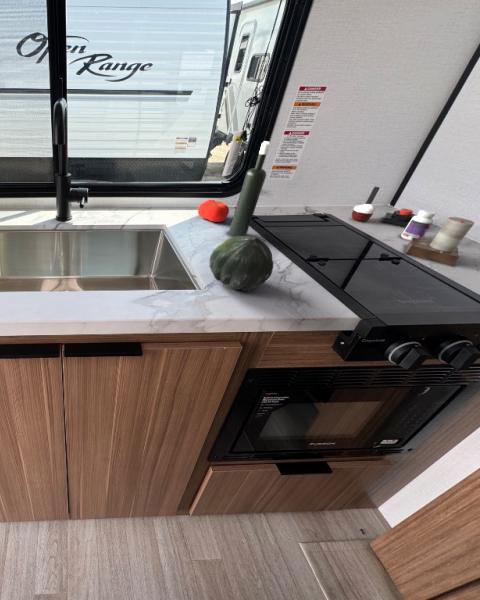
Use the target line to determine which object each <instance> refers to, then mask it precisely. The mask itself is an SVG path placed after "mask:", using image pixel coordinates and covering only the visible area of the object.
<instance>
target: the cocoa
mask: <svg viewBox="0 0 480 600" xmlns="http://www.w3.org/2000/svg"><path fill="white" fill-rule="evenodd" d="M379 190H380V187H379V186H374V187H373V189H372V190H371V192H370V194H369V196H368V198H367V200H366V202H365V203H364V204H359V205H355V206H354V207H353V210H352V213H351V218H352V220H353V221H356V222H362V223H365V222H367V221H369V220H370V219H371V217H372V216H373V215H374V212H375V211H376V206H375V205H374V204H373V201H374V200H375V198H376V196H377V194H378V192H379Z"/></svg>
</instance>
